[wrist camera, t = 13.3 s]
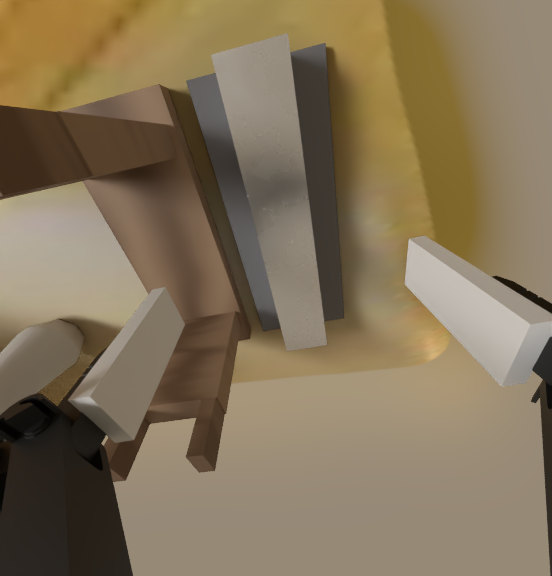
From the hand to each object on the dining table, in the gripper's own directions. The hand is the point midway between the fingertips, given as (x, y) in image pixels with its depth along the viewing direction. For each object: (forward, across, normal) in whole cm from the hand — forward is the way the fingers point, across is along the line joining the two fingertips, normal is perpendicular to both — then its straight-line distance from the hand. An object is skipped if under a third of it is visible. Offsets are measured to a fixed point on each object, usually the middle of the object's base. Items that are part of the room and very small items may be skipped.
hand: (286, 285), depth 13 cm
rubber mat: (+10, 0, 0) cm, 10 cm away
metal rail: (+9, 0, 0) cm, 9 cm away
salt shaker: (+10, +26, +7) cm, 29 cm away
